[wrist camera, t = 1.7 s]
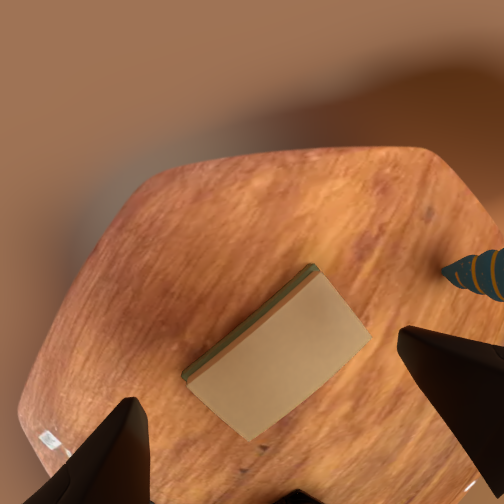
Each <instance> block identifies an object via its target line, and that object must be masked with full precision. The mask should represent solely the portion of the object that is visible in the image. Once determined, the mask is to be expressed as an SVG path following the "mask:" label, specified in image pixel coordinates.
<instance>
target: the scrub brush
mask: <svg viewBox="0 0 504 504" xmlns="http://www.w3.org/2000/svg"><path fill="white" fill-rule="evenodd" d="M371 339H372V336H371V335H370V333H369V332H368V331H367V329H366V328H365V327H364V325H363V324H362V323H361V321H360V320H359V319H358V317H357V316H356V315H355V313H354V312H353V311H352V309H351V308H350V307H349V306H348V304H347V303H346V302H345V300H344V299H343V298H342V296H341V295H340V294H339V293H338V291H337V290H336V289H335V288H334V286H333V285H332V284H331V282H330V281H329V280H328V279H327V277H326V276H325V275H324V274H323V272H322V271H320V270H319V269H318V267H317V266H316V265H315V264H314V263H310V264H308V265H307V266H306V267H305V268H304V269H303V270H302V271H301V272H300V273H298V274H297V275H296V276H295V277H294V278H293V279H292V280H291V281H290V282H288V283H287V284H286V285H285V286H284V287H283V288H282V289H281V290H279V291H278V292H277V293H276V294H275V295H274V296H273V297H271V298H270V299H269V300H268V301H267V302H266V303H265V304H263V305H262V306H261V307H260V308H259V309H258V310H256V311H255V312H254V313H253V314H252V315H251V316H249V317H248V318H247V319H246V320H245V321H244V322H242V323H241V324H240V325H239V326H238V327H236V328H235V329H234V330H233V331H232V332H231V333H229V334H228V335H227V336H226V337H225V338H223V339H222V340H221V341H220V342H218V343H217V344H216V345H215V346H214V347H212V348H211V349H210V350H209V351H207V352H206V353H205V354H204V355H203V356H201V357H200V358H199V359H198V360H196V361H195V362H194V363H193V364H191V365H190V366H189V367H188V368H186V369H185V370H184V371H183V372H182V375H181V377H182V378H183V379H184V380H185V381H186V382H187V383H186V387H187V388H188V389H189V390H190V391H191V392H192V393H193V394H194V395H195V396H196V397H197V398H198V399H200V400H201V401H202V402H203V403H204V404H205V405H206V406H207V407H208V408H209V409H210V410H211V411H213V412H214V413H215V414H216V415H217V416H218V417H219V418H221V419H222V420H223V421H224V422H225V423H226V424H227V425H229V426H230V427H231V428H232V429H233V430H235V431H236V432H237V433H238V434H239V435H241V436H242V437H243V438H244V439H246V440H247V441H248V442H250V441H251V440H252V439H254V438H255V437H257V436H258V435H260V434H261V433H262V432H264V431H265V430H267V429H268V428H269V427H271V426H272V425H273V424H275V423H276V422H277V421H279V420H280V419H281V418H283V417H284V416H285V415H287V414H288V413H289V412H291V411H292V410H293V409H294V408H296V407H297V406H298V405H299V404H301V403H302V402H303V401H304V400H305V399H307V398H308V397H309V396H310V395H311V394H313V393H314V392H315V391H316V390H317V389H318V388H320V387H321V386H322V385H323V384H324V383H325V382H327V381H328V380H329V379H330V378H331V377H332V376H333V375H334V374H335V373H337V372H338V371H339V370H340V369H341V368H342V367H343V366H344V365H345V364H346V363H347V362H348V361H349V360H350V359H351V358H352V357H354V356H355V355H356V354H357V353H358V352H359V351H360V350H361V349H362V348H363V347H364V346H365V345H366V344H367V343H368V342H369V341H370V340H371Z"/></svg>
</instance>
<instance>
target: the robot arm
mask: <svg viewBox="0 0 504 504" xmlns="http://www.w3.org/2000/svg"><path fill="white" fill-rule="evenodd" d="M397 352H398V354H399V356H400V357H401V359H402V361H403V362H404V364H405V366H406V367H407V369H408V371H409V372H410V374H411V376H412V377H413V379H414V380H415V382H416V384H417V385H418V386H419V388H420V389H421V390H422V392H423V393H424V394H425V396H426V397H427V398H428V400H429V401H430V402H431V404H432V405H433V406H434V408H435V409H436V410H437V412H438V413H439V415H440V416H441V417H442V419H443V420H444V421H445V423H446V424H447V426H448V427H449V428H450V430H451V431H452V433H453V434H454V435H455V437H456V438H457V440H458V441H459V442H460V444H461V445H462V447H463V448H464V450H465V451H466V453H467V454H468V455H469V457H470V458H471V460H472V461H473V463H474V465H475V466H476V468H477V469H478V470H479V472H480V474H481V475H482V476H483V478H484V479H485V481H486V483H487V484H488V486H489V487H490V489H491V490H492V492H493V493H494V495H495V496H496V498H497V499H498V498H499V497H500V496H501V495H502V494H504V347H502V346H497V345H491V344H488V343H483V342H479V341H474V340H470V339H465V338H461V337H457V336H452V335H448V334H444V333H439V332H435V331H431V330H427V329H423V328H419V327H415V326H410V325H409V326H406V327H404V328H401V329H400V330H399V333H398V342H397ZM297 493H298V494H297ZM23 504H150V447H149V434H148V419H147V415H146V413H145V411H144V409H143V407H142V406H141V404H140V402H139V400H138V399H137V398H136V397H126V398H124V399H122V401H121V402H120V403H119V404H118V405H117V406H116V407H115V408H114V409H113V411H112V412H111V413H110V414H109V415H108V416H107V417H106V418H105V419H104V421H103V422H102V423H101V424H100V425H99V426H98V427H97V428H96V429H95V431H94V432H93V433H92V434H91V435H90V436H89V437H88V438H87V439H86V441H85V442H84V443H83V444H82V445H81V446H80V447H79V448H78V449H77V451H76V452H75V453H74V454H73V455H72V456H71V457H70V458H69V459H68V460H67V462H66V464H64V465H63V466H62V467H61V468H60V469H59V470H58V471H57V472H56V473H55V474H54V476H53V477H52V478H51V479H50V480H49V481H48V482H46V483H45V484H44V485H43V486H42V487H41V488H40V489H39V490H38V491H37V492H36V493H34V494H33V495H32V496H31V497H30V498H29V499H27V500H26V501H25V502H24V503H23ZM273 504H324V503H323V502H321V501H319V500H317V499H315V498H314V497H312V496H310V495H309V494H307V493H305V492H304V491H302V490H295V491H293V492H292V493H290V494H288V495H287V496H285V497H283V498H282V499H280V500H278V501H277V502H275V503H273Z"/></svg>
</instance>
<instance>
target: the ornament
mask: <svg viewBox="0 0 504 504" xmlns="http://www.w3.org/2000/svg"><path fill="white" fill-rule="evenodd" d="M441 273H442V275H443V276H445V277H446V278H447V279H448V280H449V281H450V282H451V283H452V284H453V285H455V286H456V287H458V288H461V289H469V290H470V291H472V292H474V293H477V294H481V295H484V294H486V295H487V296H489V297H490V298H492V299H493V300H495V301H499V302H504V248H503V249H501V250H500V251H497V250H488V251H486V252H484V253H482V254H481V255H479V256H477V255H469V256H466V257H464V258H462V259H460V260H458V261H456V262H454V263H452V264H450V265H448V266H446V267H444V268H443V269H442V271H441Z"/></svg>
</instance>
